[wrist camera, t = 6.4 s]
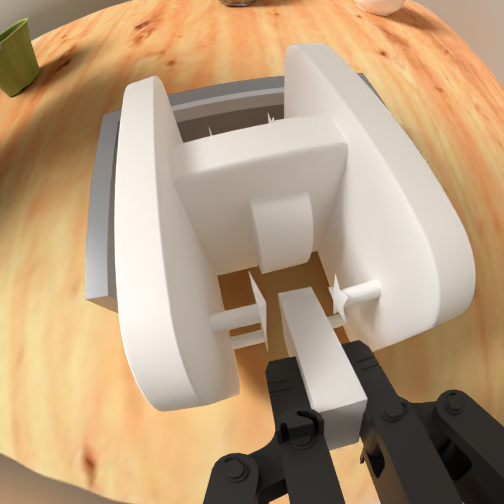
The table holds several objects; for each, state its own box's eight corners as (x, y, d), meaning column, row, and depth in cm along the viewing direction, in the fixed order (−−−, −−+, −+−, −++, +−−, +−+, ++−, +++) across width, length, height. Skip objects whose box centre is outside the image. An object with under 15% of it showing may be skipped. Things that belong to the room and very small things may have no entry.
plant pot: (42, 85, 32) (12, 35, 21) (-8, 117, 31) (-40, 76, 21) (58, 52, 36) (36, 9, 25) (11, 80, 35) (-13, 42, 25)
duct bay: (125, 152, 24) (103, 114, 20) (351, 114, 25) (362, 73, 20) (123, 315, 19) (85, 299, 14) (416, 258, 19) (450, 229, 15)
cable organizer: (178, 192, 22) (124, 64, 12) (310, 161, 23) (324, 27, 12) (216, 398, 16) (125, 417, 6) (384, 349, 17) (512, 292, 6)
